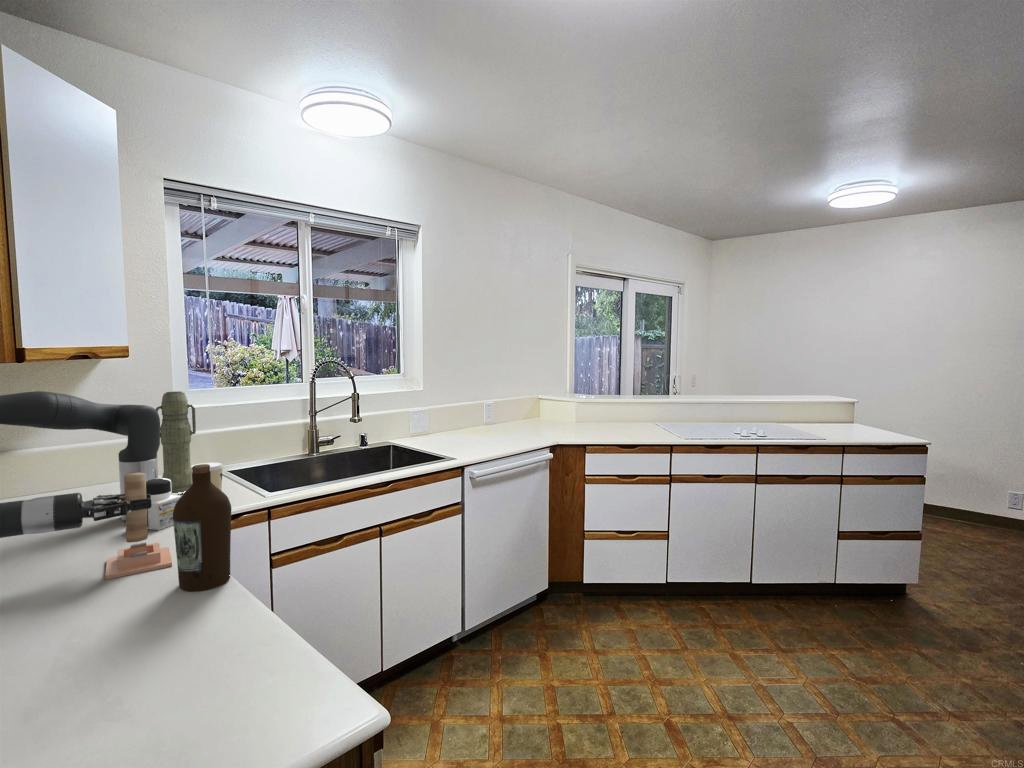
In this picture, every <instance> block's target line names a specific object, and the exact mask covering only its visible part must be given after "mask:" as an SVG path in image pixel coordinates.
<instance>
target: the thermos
mask: <svg viewBox="0 0 1024 768" xmlns="http://www.w3.org/2000/svg"><path fill="white" fill-rule="evenodd" d="M188 402H189V401H188V398H187V396H186V393H185V392H183V391H166V392H164V393H163V396H162V397H161V402H160V403H161V404H160V405H159V406H157V407H156V408H154V409H155V410H156V411H157V412H158V413H159V410H161V416H162V419H161V424H160V445H162V460H163V464H162V465H163V474H162V477H161V478H166V479H170V480H171V489H172V493H178V492H184V491H187V490H188V489H189V488H190V487H191V485H192V483H191V473H190V468H191V447H190V445H191V444H190V443H191V442H192V436H193V435H195V434H196V430H197V428H196V425H197V424H196V423H197V422H196V408H195V407H194V406H193V404H189V403H188ZM189 408H191V418H192V419H191V421H192V422H191V423H192V424H190V422H189V417H188V414H189ZM191 425H192V430H191Z"/></svg>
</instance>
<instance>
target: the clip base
mask: <svg viewBox="0 0 1024 768" xmlns="http://www.w3.org/2000/svg"><path fill="white" fill-rule="evenodd" d="M169 547H170V546H166V547H162V548H161V547H160V543H159V541H158V542H154V543H148V544H147V542H146V541H145V542H141V543H134V544H130V547H125V548H121V549H117V554H116V556H112V557H107V558H106V564H105V565H106V566H105V580H110V579H109V578H111V579H115V578H114V577H116V578H120V576H121V577H126V576H131V575H135V574H139V573H145V572H149V571H155V570H159V569H164V568H165V569H166V568H169V566H170V567H173V560H172V556H171V552H170V548H169ZM125 575H126V576H125Z"/></svg>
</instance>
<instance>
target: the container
mask: <svg viewBox="0 0 1024 768" xmlns="http://www.w3.org/2000/svg"><path fill="white" fill-rule="evenodd" d="M146 494H150V495H151V505H152V506H151V508H149V509H147V530H150V531H151V530H154V531H160V530H163V529H167V528H168V527H171V526H174V525H173V519H172V518H173V511H174V507H175V505H176V503H177V501H178V500H179V499H180V497H181V496H180V495H170V494H172V489H171V480H170V479H166V478H162V477H160V478H159V477H158V478H157V479H151V480H148V481H146Z"/></svg>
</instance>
